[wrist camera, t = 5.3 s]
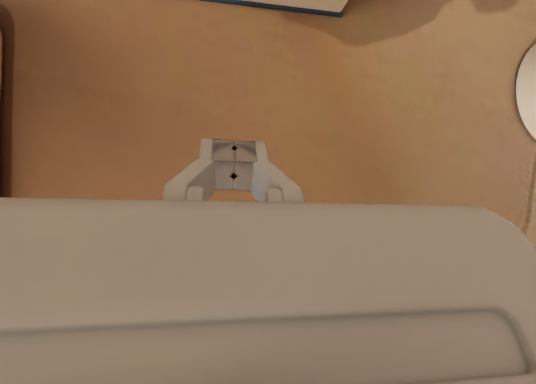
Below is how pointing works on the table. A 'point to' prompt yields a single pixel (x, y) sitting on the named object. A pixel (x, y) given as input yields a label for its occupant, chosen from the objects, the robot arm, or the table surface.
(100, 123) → the table surface
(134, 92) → the table surface
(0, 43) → the case
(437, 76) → the table surface
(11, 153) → the table surface
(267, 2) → the dictionary
